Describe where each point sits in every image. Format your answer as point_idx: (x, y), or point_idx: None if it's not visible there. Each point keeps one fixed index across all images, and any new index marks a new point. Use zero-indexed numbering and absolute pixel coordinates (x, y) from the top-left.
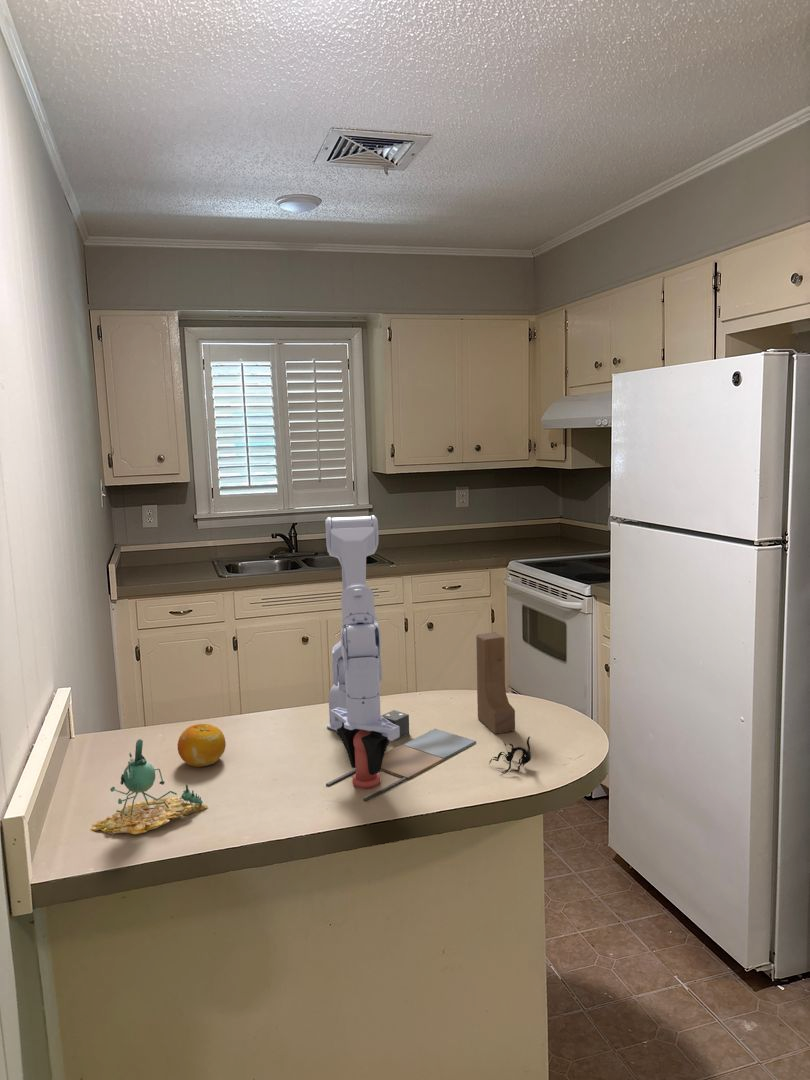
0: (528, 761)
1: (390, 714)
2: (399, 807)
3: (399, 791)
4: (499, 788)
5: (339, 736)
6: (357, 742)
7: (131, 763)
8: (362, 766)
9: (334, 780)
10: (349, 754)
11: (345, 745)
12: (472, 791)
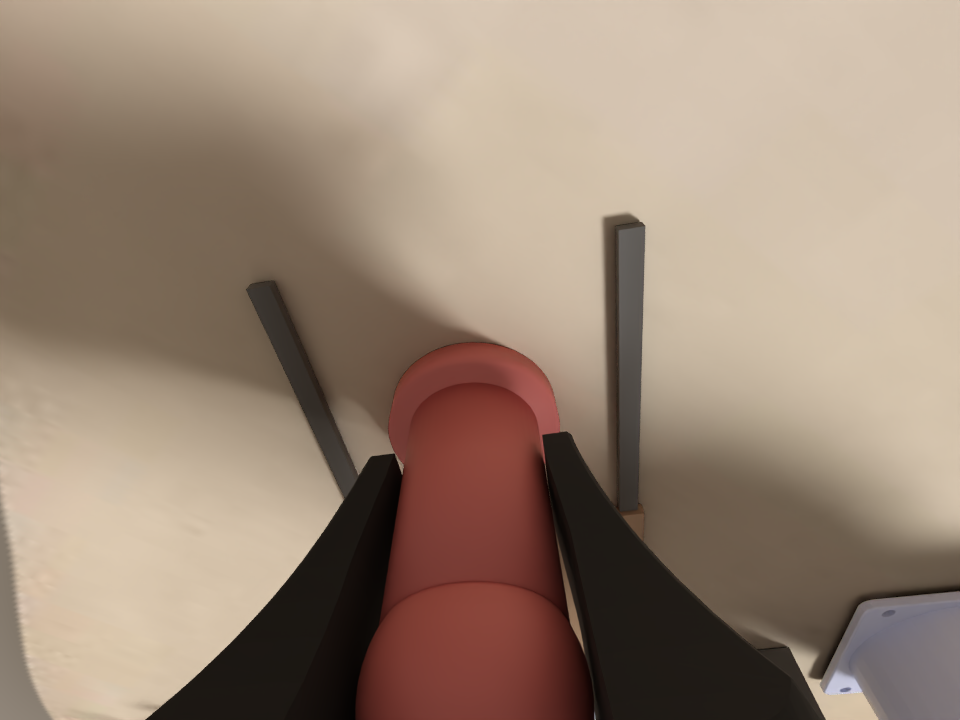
0: None
1: None
2: (94, 375)
3: (275, 462)
4: (111, 662)
5: (733, 647)
6: (442, 671)
7: None
8: (424, 470)
9: (631, 295)
10: (578, 503)
11: (634, 565)
12: (126, 614)
